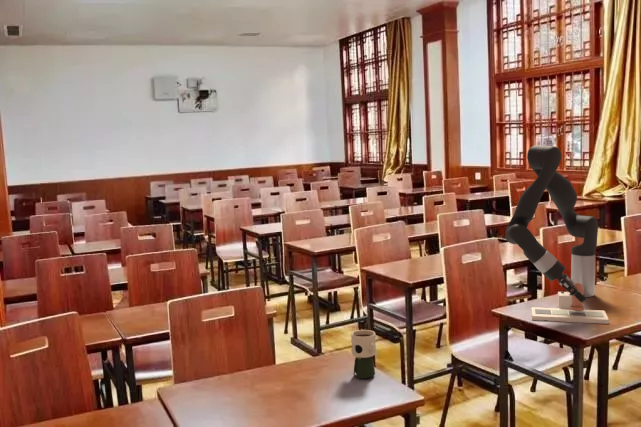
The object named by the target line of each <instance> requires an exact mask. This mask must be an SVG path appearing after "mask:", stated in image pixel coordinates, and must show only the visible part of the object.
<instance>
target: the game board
mask: <svg viewBox="0 0 641 427" xmlns="http://www.w3.org/2000/svg"><path fill="white" fill-rule="evenodd" d="M530 310H531V320H532V321H544V320H548V322H565V323H566V322H568V323H585V324H588V323H589V324H605V325H608V324H609V322H610V321H609V320H610V319H609V317H608V315H607V313H606V311H605V310H602V309H601V310H597V309H584V311H573V310H571V309H559V308H558V307H556V308H555V307H538V306H537V307H536V306H533V307H531V309H530Z"/></svg>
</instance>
